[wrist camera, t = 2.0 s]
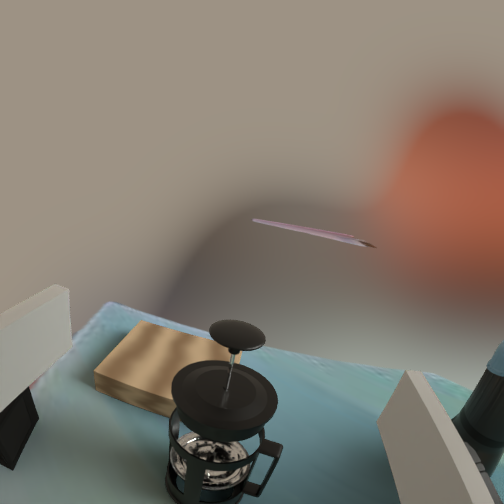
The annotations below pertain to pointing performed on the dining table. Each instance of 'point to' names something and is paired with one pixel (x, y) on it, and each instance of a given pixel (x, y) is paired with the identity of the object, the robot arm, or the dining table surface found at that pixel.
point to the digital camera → (16, 427)
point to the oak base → (153, 365)
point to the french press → (220, 420)
